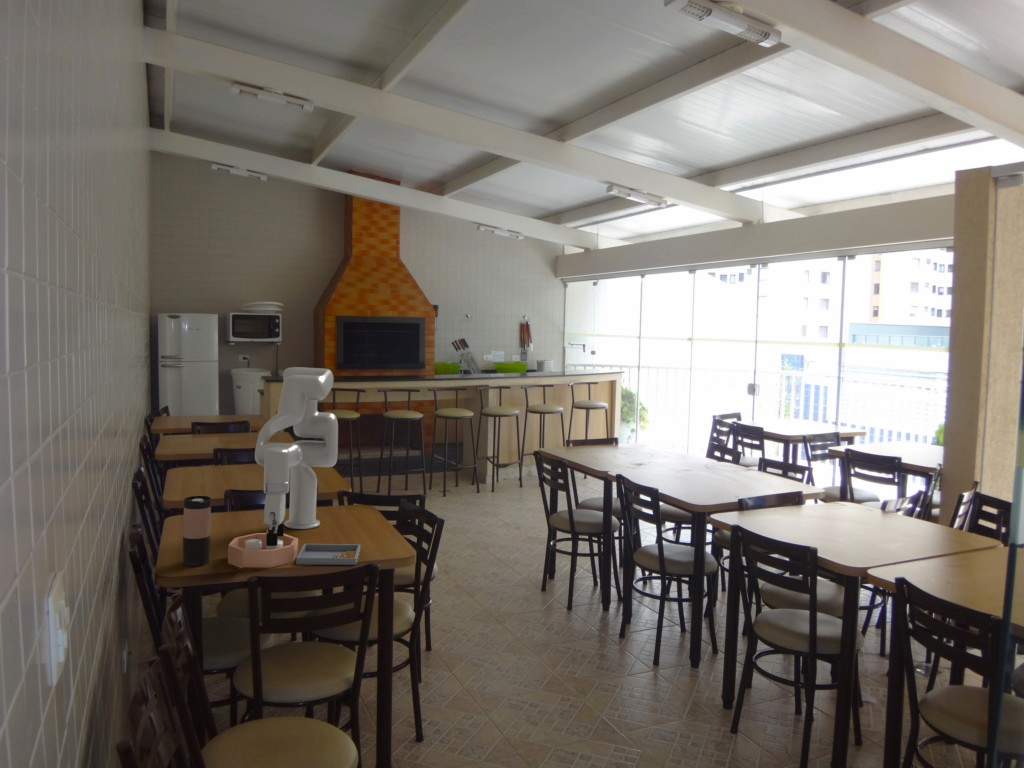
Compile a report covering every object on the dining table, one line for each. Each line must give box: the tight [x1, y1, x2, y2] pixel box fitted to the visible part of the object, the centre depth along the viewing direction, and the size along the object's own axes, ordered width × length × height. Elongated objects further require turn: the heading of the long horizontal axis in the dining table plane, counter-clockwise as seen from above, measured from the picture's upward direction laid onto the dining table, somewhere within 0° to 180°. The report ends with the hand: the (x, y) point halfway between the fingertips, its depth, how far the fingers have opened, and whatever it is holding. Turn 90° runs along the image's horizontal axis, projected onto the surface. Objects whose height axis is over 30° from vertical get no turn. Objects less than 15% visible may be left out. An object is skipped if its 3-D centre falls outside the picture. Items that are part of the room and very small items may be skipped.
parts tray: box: [295, 543, 361, 566], centre depth 229 cm, size 15×18×3 cm
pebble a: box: [245, 539, 262, 550], centre depth 225 cm, size 5×5×5 cm
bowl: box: [227, 532, 299, 570], centre depth 225 cm, size 20×20×6 cm
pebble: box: [266, 540, 283, 550], centre depth 225 cm, size 5×5×5 cm
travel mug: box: [182, 495, 212, 567], centre depth 218 cm, size 8×8×20 cm
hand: (275, 540), depth 226 cm, fingers open, 9 cm apart
